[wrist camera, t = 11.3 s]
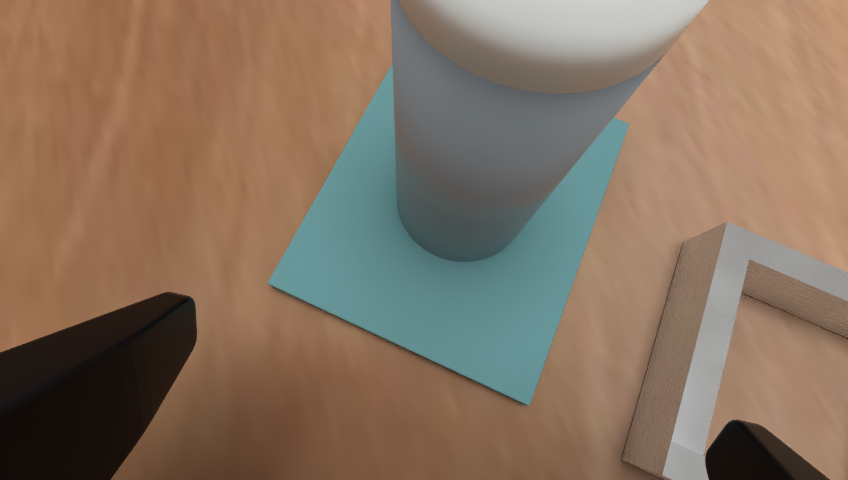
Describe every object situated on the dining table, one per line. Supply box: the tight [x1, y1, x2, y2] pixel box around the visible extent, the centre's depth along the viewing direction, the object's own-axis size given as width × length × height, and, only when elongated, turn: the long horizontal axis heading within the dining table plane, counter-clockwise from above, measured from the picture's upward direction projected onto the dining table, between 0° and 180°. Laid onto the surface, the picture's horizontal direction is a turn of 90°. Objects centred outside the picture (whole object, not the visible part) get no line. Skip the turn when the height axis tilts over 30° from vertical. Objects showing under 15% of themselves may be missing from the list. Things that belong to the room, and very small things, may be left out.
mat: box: [268, 64, 629, 406], centre depth 18 cm, size 12×10×1 cm
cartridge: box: [391, 0, 709, 262], centre depth 12 cm, size 5×5×12 cm
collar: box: [622, 222, 848, 480], centre depth 15 cm, size 9×9×2 cm
